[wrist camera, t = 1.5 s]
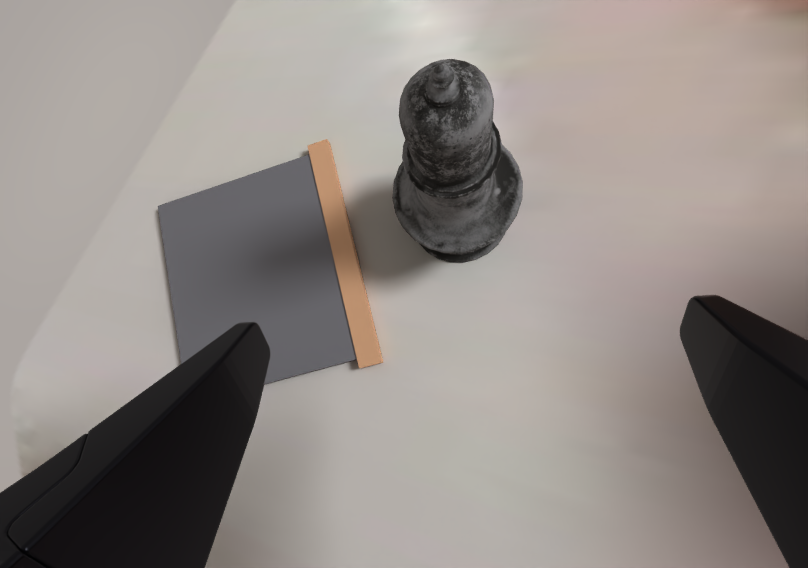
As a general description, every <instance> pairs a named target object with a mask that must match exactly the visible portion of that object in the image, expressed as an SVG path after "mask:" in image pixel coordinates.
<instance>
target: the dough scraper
mask: <svg viewBox="0 0 808 568" xmlns="http://www.w3.org/2000/svg"><path fill="white" fill-rule="evenodd" d="M308 150H309V155H306V156H303V157H300V158H297V159H295V160H292V161H289V162H286V163H283V164H280V165H277V166H274V167H271V168H268V169H265V170H262V171H259V172H256V173H253V174H251V175H248V176H245V177H242V178H239V179H236V180H233V181H230V182H227V183H224V184H221V185H218V186H215V187H212V188H209V189H206V190H204V191H201V192H198V193H195V194H192V195H189V196H186V197H183V198H180V199H177V200H174V201H171V202H168V203H165V204H162V205H160V206H158V211H159V218H160V225H161V231H162V238H163V245H164V251H165V258H166V265H167V271H168V278H169V285H170V291H171V298H172V305H173V312H174V318H175V325H176V332H177V338H178V345H179V352H180V358H181V364H182V363H183V362H185V361H186V360H188V359H189V358H190V357H192V356H193V355H194V354H196V353H197V352H199V351H200V350H201V349H203V348H204V347H205V346H207V345H208V344H210V343H211V342H212V341H214V340H215V339H216V338H218V337H219V336H221V335H222V334H223V333H225V332H226V331H227V330H229V329H230V328H232V327H233V326H234V325H236V324H237V323H241V322H256V323H257V324H258V325H259V326H260V328H261V330H262V332H263V334H264V336H265V338H266V341H267V343H268V345H269V347H270V353H271V354H270V361H269V365H268V370H267V374H266V378H265V383H264V384H268V383H271V382H275V381H279V380H282V379H286V378H290V377H294V376H297V375H301V374H305V373H308V372H312V371H316V370H320V369H323V368H327V367H331V366H334V365H338V364H342V363H346V362H349V361H353V360H357V361H358V366H359V368H364V367H367V366H371V365H375V364H379V363H383V359H382V355H381V351H380V347H379V343H378V339H377V334H376V330H375V326H374V322H373V318H372V314H371V310H370V306H369V302H368V298H367V293H366V289H365V285H364V281H363V277H362V273H361V269H360V265H359V261H358V257H357V252H356V248H355V244H354V240H353V236H352V232H351V228H350V224H349V220H348V216H347V211H346V207H345V203H344V199H343V195H342V191H341V187H340V183H339V179H338V175H337V170H336V166H335V162H334V158H333V154H332V150H331V146H330V143H329V141H328V140H327V139H326V140H323V141H320V142H317V143H314V144H311V145H308Z"/></svg>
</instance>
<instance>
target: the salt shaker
mask: <svg viewBox="0 0 808 568" xmlns="http://www.w3.org/2000/svg"><path fill="white" fill-rule="evenodd" d="M493 107H494V98H493V94H492V90H491V86H490V83H489V82H488V80H487V78H486V77H485V75H484V73H482V72H481V71H480V70H479V69H478V68H477V67H476V66H474V65H472V64H470V63H467V62H465V61H460V60H455V59H447V60H440V61H436V62H433V63H431V64H429V65H427V66H425V67H424V68H422V69H420V70H419V71H418V72H417V73H416V74H415V75H414V76H413V77H412V78H411V79H410V80H409V82H408V83H407V85H406V86H405V88H404V90H403V93H402V95H401V98H400V107H399V119H400V124H401V128H402V131H403V134H404V137H405V142H404V145H403V155H402V159H403V162H402V163H401V165H400V166H399V168H398V171H397V174H396V177H395V180H394V185H393V203H394V208H395V213H396V215H397V217H398V219H399V221H400V223H401V225H402V227H403V228H404V229H405V230H406V232H407V233H408V234H409V235H410V236H411V237H412V238H413V239H414V240H415V241H417V242H418V243H419V244H420V245H421V246H422V247H423V248H424V249H425V250H426V251H427V252H428V253H430V254H431V255H433V256H435V257H436V258H438V259H441V260H445V261H448V262H462V263H463V262H468V261H472V260H476V259H478V258H480V257H482V256H484V255H486V254H488V253H489V252H490V251H491V250H493V249H494V248H495V247H496V246H497V245H498V244H499V242H500V241H501V239H502V238H503V236H504V235H505V232H506V231H507V230H508V228H509V227H510V225H511V224H512V222H513V220H514V219H515V217H516V216H517V213H518V210H519V207H520V204H521V201H522V188H523V181H522V177H521V174H520V170H519V166H518V164H517V163H516V161H515V159H514V158H513V156H512V154H511V153H510V151H508V150H507V149H506V148H505V147H504V146H503V145H502V143H501V139H500V135H499V131H498V129H497V128H496V126H495V124H494V122H493Z"/></svg>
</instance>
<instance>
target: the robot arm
mask: <svg viewBox="0 0 808 568" xmlns="http://www.w3.org/2000/svg"><path fill="white" fill-rule="evenodd" d="M680 338H681V341H682V344H683V346H684V349H685V352H686V354H687V357H688V360H689V362H690V365H691V368H692V370H693V373H694V376H695V378H696V381H697V384H698V386H699V389H700V392H701V394H702V397H703V399H704V402H705V404H706V407H707V409H708V411H709V413H710V415H711V417H712V419H713V421H714V423H715V425H716V427H717V429H718V431H719V433H720V435H721V437H722V439H723V441H724V443H725V444H726V446H727V448H728V450H729V452H730V454H731V456H732V458H733V460H734V462H735V464H736V466H737V468H738V470H739V471H740V473H741V475H742V477H743V479H744V481H745V483H746V485H747V487H748V489H749V491H750V493H751V495H752V497H753V498H754V500H755V502H756V504H757V506H758V508H759V510H760V512H761V514H762V516H763V518H764V520H765V522H766V524H767V525H768V527H769V529H770V531H771V533H772V535H773V537H774V539H775V541H776V543H777V545H778V547H779V549H780V551H781V552H782V554H783V556H784V558H785V560H786V562H787V564H788V566H789V568H808V340H806V339H804V338H802V337H800V336H798V335H796V334H794V333H792V332H790V331H788V330H786V329H784V328H782V327H780V326H778V325H776V324H774V323H772V322H770V321H768V320H766V319H764V318H762V317H760V316H758V315H756V314H754V313H752V312H750V311H748V310H746V309H744V308H742V307H740V306H738V305H736V304H734V303H732V302H730V301H728V300H726V299H724V298H722V297H720V296H718V295H702V296H694V297H692V298H691V299H690V300H689V302H688V305H687V308H686V311H685V314H684V317H683V320H682V323H681V326H680ZM270 354H271V353H270V347H269V345H268V343H267V341H266V338H265V336H264V334H263V332H262V330H261V328H260V326H259V325H258V324H257V323H256V322H241V323H237V324H236V325H234V326H233V327H232V328H230V329H229V330H227V331H226V332H225V333H223V334H222V335H221V336H219V337H218V338H216V339H215V340H214V341H212V342H211V343H210V344H208V345H207V346H205V347H204V348H203V349H201V350H200V351H199V352H197V353H196V354H194V355H193V356H192V357H190V358H189V359H188V360H186V361H185V362H183V363H182V364H181V365H179V366H178V367H176V368H175V369H174V370H172V371H171V372H170V373H168V374H167V375H165V376H164V377H163V378H161V379H160V380H159V381H157V382H156V383H154V384H153V385H152V386H150V387H149V388H148V389H146V390H145V391H143V392H142V393H141V394H139V395H138V396H137V397H135V398H134V399H132V400H131V401H130V402H128V403H127V404H126V405H124V406H123V407H121V408H120V409H119V410H117V411H116V412H115V413H113V414H112V415H110V416H109V417H108V418H106V419H105V420H103V421H102V422H101V423H99V424H98V425H97V426H95V427H94V428H92V429H91V430H90V431H89V432H88V434H84V435H83V436H81V437H80V438H79V439H77V440H76V441H74V442H73V443H72V444H70V445H69V446H68V447H66V448H65V449H63V450H62V451H61V452H59V453H58V454H56V455H55V456H54V457H52V458H51V459H49V460H48V461H46V462H45V463H44V464H42V465H41V466H39V467H38V468H37V469H35V470H34V471H32V472H31V473H29V474H28V475H26V476H25V477H23V478H22V479H20V480H19V481H17V482H16V483H14V484H13V485H11V486H10V487H8V488H7V489H5V490H4V491H2V492H1V493H0V568H205V565H206V562H207V560H208V557H209V554H210V551H211V548H212V545H213V542H214V539H215V536H216V533H217V530H218V528H219V525H220V522H221V519H222V516H223V513H224V510H225V507H226V504H227V501H228V499H229V496H230V493H231V490H232V487H233V484H234V481H235V478H236V475H237V472H238V470H239V467H240V464H241V461H242V458H243V455H244V452H245V449H246V446H247V443H248V441H249V438H250V435H251V432H252V429H253V426H254V423H255V420H256V416H257V413H258V409H259V405H260V400H261V396H262V391H263V387H264V383H265V378H266V374H267V370H268V365H269V361H270Z"/></svg>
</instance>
